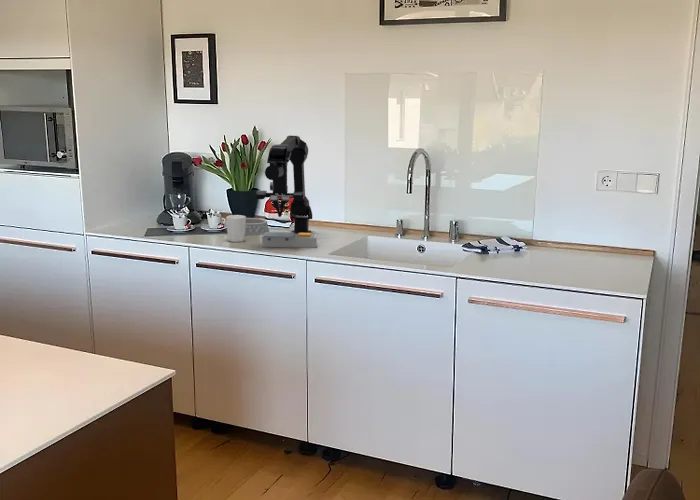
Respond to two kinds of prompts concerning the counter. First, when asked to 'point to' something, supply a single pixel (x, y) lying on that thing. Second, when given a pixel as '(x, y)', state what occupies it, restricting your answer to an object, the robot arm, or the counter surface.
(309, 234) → the mustard yellow box
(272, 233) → the panel
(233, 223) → the white cup
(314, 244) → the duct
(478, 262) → the counter surface
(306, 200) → the robot arm
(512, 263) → the counter surface
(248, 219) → the dog bowl
